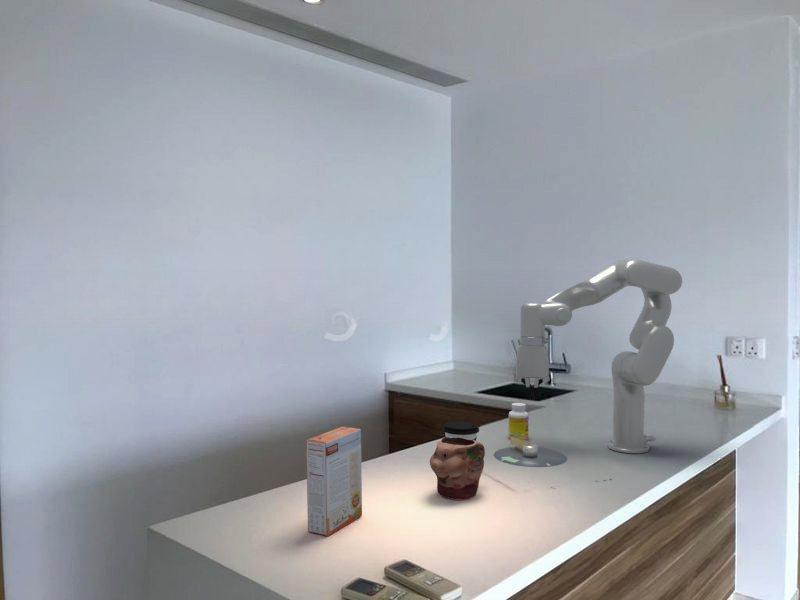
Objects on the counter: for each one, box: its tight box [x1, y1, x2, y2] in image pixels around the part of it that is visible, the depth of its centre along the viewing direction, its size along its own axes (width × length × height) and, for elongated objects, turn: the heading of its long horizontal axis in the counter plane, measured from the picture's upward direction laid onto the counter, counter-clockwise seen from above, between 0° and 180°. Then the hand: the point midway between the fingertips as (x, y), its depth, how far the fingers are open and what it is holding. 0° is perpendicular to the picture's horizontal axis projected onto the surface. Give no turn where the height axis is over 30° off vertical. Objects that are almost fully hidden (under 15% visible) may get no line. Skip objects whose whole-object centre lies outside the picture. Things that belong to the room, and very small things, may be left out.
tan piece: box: [510, 435, 539, 457], centre depth 203 cm, size 13×4×4 cm, turn 21°
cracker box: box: [305, 426, 363, 537], centre depth 148 cm, size 14×6×21 cm, turn 150°
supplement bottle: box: [507, 402, 529, 441], centre depth 220 cm, size 7×7×13 cm
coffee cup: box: [442, 420, 480, 441], centre depth 194 cm, size 11×11×12 cm
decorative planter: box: [429, 436, 486, 501], centre depth 169 cm, size 20×12×14 cm, turn 141°
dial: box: [493, 446, 568, 468], centre depth 199 cm, size 22×22×1 cm
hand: (531, 399), depth 207 cm, fingers closed
